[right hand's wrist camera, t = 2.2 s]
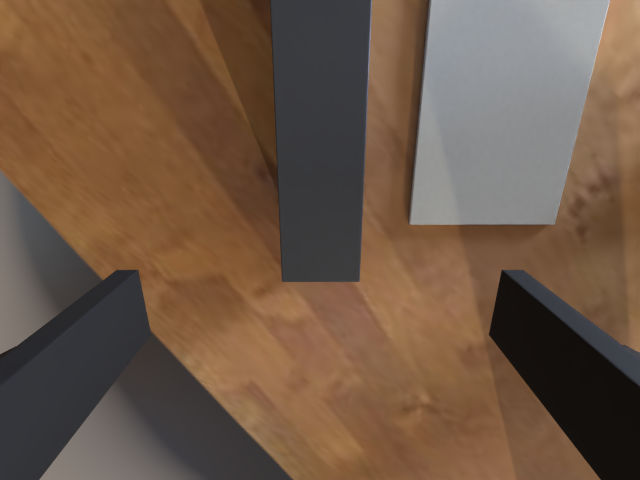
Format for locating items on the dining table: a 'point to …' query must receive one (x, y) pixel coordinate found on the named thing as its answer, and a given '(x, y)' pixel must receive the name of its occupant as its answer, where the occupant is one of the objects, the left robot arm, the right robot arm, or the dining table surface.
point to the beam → (320, 134)
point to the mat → (501, 108)
